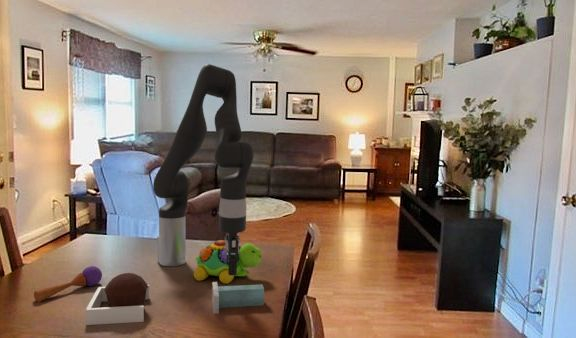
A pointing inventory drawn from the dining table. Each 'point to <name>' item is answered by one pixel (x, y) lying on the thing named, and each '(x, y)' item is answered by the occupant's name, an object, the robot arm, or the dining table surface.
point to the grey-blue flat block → (236, 296)
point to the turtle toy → (225, 261)
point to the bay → (112, 311)
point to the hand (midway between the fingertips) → (231, 269)
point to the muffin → (126, 290)
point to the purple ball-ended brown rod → (72, 283)
